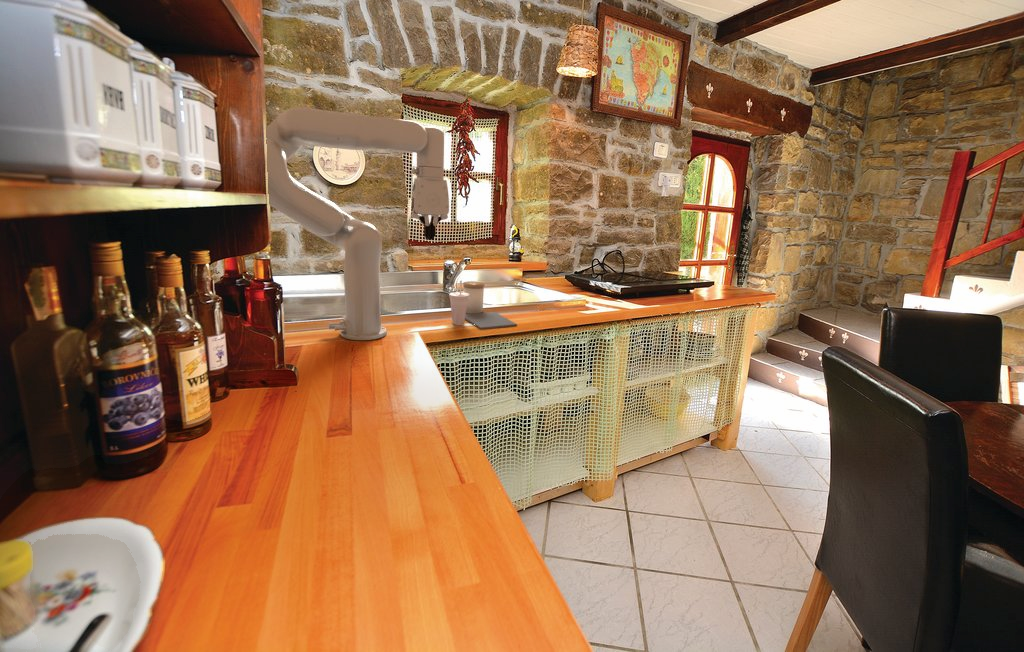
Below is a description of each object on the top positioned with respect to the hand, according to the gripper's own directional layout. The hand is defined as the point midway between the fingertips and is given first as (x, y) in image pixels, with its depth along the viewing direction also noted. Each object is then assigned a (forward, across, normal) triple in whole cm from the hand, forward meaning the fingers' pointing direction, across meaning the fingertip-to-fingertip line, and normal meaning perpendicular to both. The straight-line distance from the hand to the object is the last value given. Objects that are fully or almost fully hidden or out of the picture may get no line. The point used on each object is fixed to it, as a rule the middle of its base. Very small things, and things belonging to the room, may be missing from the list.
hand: (429, 239), depth 141 cm
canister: (+27, +21, +13) cm, 36 cm away
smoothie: (+27, +10, 0) cm, 29 cm away
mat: (+27, +20, 0) cm, 34 cm away
